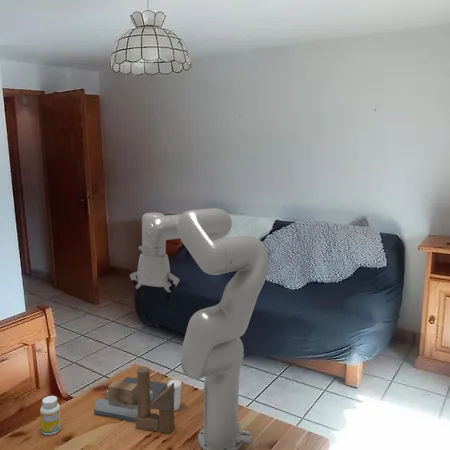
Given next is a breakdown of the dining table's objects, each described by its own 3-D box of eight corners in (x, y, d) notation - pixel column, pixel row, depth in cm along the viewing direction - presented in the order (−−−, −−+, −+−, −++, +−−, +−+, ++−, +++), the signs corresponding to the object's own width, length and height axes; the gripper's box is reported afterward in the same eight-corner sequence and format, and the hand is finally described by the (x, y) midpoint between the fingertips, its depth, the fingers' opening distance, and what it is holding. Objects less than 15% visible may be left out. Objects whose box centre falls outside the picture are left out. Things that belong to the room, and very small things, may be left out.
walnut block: (138, 404, 144) (137, 384, 142) (132, 411, 140) (131, 390, 139) (115, 400, 146) (114, 380, 145) (108, 407, 142) (107, 386, 141)
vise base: (166, 387, 157) (166, 376, 156) (138, 423, 137) (138, 410, 136) (126, 380, 161) (126, 370, 160) (94, 414, 141) (93, 402, 140)
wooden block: (170, 434, 132) (170, 376, 129) (135, 428, 134) (134, 371, 131) (174, 426, 136) (174, 369, 132) (140, 421, 138) (139, 365, 135)
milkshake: (178, 414, 142) (178, 384, 140) (164, 409, 144) (164, 379, 142) (186, 407, 145) (186, 378, 144) (173, 402, 148) (172, 373, 146)
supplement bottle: (56, 436, 130) (55, 405, 128) (38, 435, 130) (36, 404, 129) (64, 424, 135) (62, 394, 134) (46, 423, 136) (44, 393, 134)
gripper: (124, 251, 149) (125, 301, 152) (174, 255, 144) (174, 307, 147) (135, 246, 156) (136, 294, 159) (183, 250, 151) (182, 300, 154)
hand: (154, 300), depth 153 cm, fingers open, 9 cm apart
